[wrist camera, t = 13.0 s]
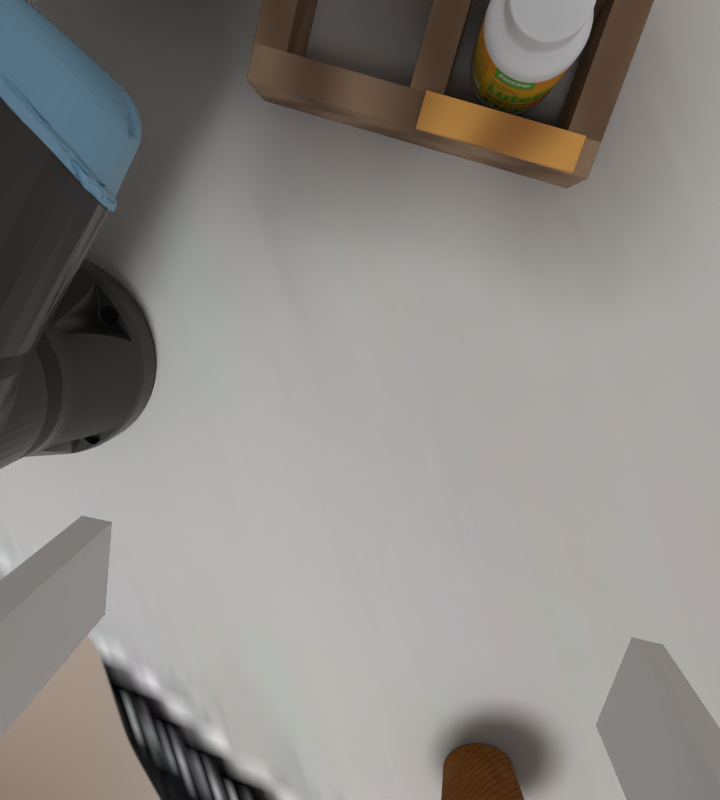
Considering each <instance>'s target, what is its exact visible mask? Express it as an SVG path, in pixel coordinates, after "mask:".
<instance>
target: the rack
mask: <svg viewBox="0 0 720 800" xmlns="http://www.w3.org/2000/svg"><path fill="white" fill-rule="evenodd" d="M472 1H473V0H434V1H433V5H432V8H431V12H430V16H429V19H428V23H427V27H426V30H425V34H424V38H423V41H422V45H421V49H420V52H419V56H418V59H417V63H416V67H415V70H414V74H413V78H412V81H411V85H410V87H406V86H403V85H399V84H396V83H393V82H389V81H386V80H382V79H379V78H375V77H372V76H368V75H365V74H361V73H358V72H354V71H351V70H347V69H344V68H340V67H337V66H333V65H330V64H326V63H323V62H320V61H316V60H313V59H309V58H306V57H305V53H306V49H307V44H308V40H309V35H310V30H311V26H312V21H313V17H314V12H315V8H316V3H317V0H262V4H261V9H260V14H259V19H258V24H257V29H256V34H255V40H254V45H253V50H252V55H251V60H250V65H249V70H248V75H247V81H248V82H249V83H250V84H251V85H252V87H253V88H254V89H255V90H256V91H257V92H258V93H259V95H260V96H261V97H262V98H263V99H264V100H265V101H268V102H272V103H275V104H278V105H282V106H285V107H289V108H292V109H296V110H299V111H303V112H306V113H310V114H313V115H316V116H320V117H323V118H327V119H330V120H334V121H337V122H341V123H344V124H348V125H351V126H354V127H358V128H361V129H365V130H368V131H372V132H375V133H379V134H382V135H386V136H389V137H392V138H396V139H399V140H403V141H406V142H410V143H413V144H417V145H420V146H424V147H427V148H430V149H434V150H437V151H441V152H444V153H448V154H451V155H455V156H458V157H462V158H465V159H468V160H472V161H475V162H479V163H482V164H486V165H489V166H493V167H496V168H500V169H503V170H506V171H510V172H513V173H517V174H520V175H524V176H527V177H531V178H534V179H537V180H541V181H544V182H548V183H551V184H555V185H558V186H562V187H565V188H569V187H571V186H573V185H575V184H577V183H579V182H581V181H583V180H585V179H587V178H588V175H589V173H590V170H591V167H592V165H593V162H594V159H595V156H596V154H597V151H598V148H599V146H600V143H601V140H602V138H603V135H604V132H605V130H606V127H607V124H608V122H609V119H610V116H611V114H612V111H613V108H614V106H615V103H616V100H617V98H618V95H619V92H620V90H621V87H622V84H623V81H624V79H625V76H626V73H627V71H628V68H629V65H630V63H631V60H632V57H633V55H634V52H635V49H636V47H637V44H638V41H639V39H640V36H641V33H642V31H643V28H644V25H645V23H646V20H647V17H648V14H649V12H650V9H651V6H652V4H653V1H654V0H596V3H595V6H594V16H593V19H594V22H593V24H592V28H591V31H590V35H589V38H588V40H587V42H586V44H585V47H584V50H583V53H582V56H581V59H580V62H579V65H578V67H577V70H576V73H575V76H574V79H573V82H572V85H571V87H570V90H569V93H568V96H567V99H566V102H565V105H564V107H563V110H562V113H561V116H560V119H559V122H558V125H557V127H553V126H550V125H547V124H543V123H540V122H536V121H533V120H529V119H526V118H522V117H519V116H515V115H512V114H508V113H505V112H501V111H498V110H494V109H491V108H487V107H484V106H480V105H477V104H474V103H470V102H467V101H463V100H460V99H456V98H453V97H449V96H446V95H445V94H446V90H447V87H448V84H449V80H450V77H451V73H452V70H453V66H454V63H455V60H456V56H457V53H458V49H459V46H460V42H461V39H462V36H463V32H464V29H465V25H466V22H467V18H468V15H469V12H470V8H471V5H472Z"/></svg>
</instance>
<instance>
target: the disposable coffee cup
mask: <svg viewBox="0 0 720 800" xmlns="http://www.w3.org/2000/svg"><path fill="white" fill-rule="evenodd" d="M441 800H524V798H523V795H522V792H521V789H520V787H519V783H518V781H517V777H516V775H515V772H514V769H513V765H512V763H511V761H510V760H509V758H508V757H507V756H506V755H505V754H504V753H503V752H501V751H500V750H498V749H496V748H494V747H491V746H488V745H483V744H470V745H465V746H462V747H460V748H458V749H456V750H454V751H453V752H452V753H451V754H450V755H449V756H448V757H447V759H446V760H445V763H444V767H443V782H442V797H441Z"/></svg>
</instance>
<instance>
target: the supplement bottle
mask: <svg viewBox="0 0 720 800" xmlns="http://www.w3.org/2000/svg"><path fill="white" fill-rule="evenodd" d="M595 3H596V0H491V1H490V3H489V5H488V8H487V11H486V14H485V18H484V21H483V24H482V27H481V31H480V34H479V37H478V40H477V44H476V47H475V50H474V53H473V57H472V62H471V80H472V85H473V88H474V90H475V93H476V95H477V96H478V98H479V99H480V101H481V102H482V103H483V104H484V105H485V106H486V107H488V108H491V109H494V110H498V111H501V112H505V113H508V114H512V115H513V114H519V113H523V112H525V111H528V110H530V109H531V108H533V107H534V106H536V105H537V104H538V103H539V102H541V101H542V100H543V99H544V98H545V96H546V95H547V94H548V93H549V92H550V90H551V89H552V88H553V87H554V86H555V84H556V83H557V82H558V81H559V80H560V78H561V77H562V76H563V75H564V73H565V72H566V71H567V70H568V68H569V67H570V66H571V65H572V64H573V62H574V61H575V60H576V58H577V57H578V56H579V54H580V53H581V51H582V50H583V48H584V46H585V44H586V42H587V40H588V38H589V35H590V31H591V28H592V23H593V16H594V6H595Z"/></svg>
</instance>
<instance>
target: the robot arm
mask: <svg viewBox="0 0 720 800" xmlns="http://www.w3.org/2000/svg"><path fill="white" fill-rule="evenodd" d="M141 137H142V125H141V119H140V115H139V112H138V109H137V107H136V104H135V103H134V101H133V99H132V98H131V96H130V95H129V93H128V92H127V91H126V90H125V89H124V88H123V87H122V86H121V85H120V84H119V83H118V82H117V81H116V80H115V79H114V78H113V77H112V76H111V75H109V74H108V73H107V72H106V71H105V70H104V69H103V68H102V67H101V66H99V65H98V64H97V63H96V62H95V61H94V60H93V59H92V58H90V57H89V56H88V55H87V54H86V53H85V52H84V51H82V50H81V49H80V48H79V47H78V46H77V45H76V44H75V43H73V42H72V41H71V40H70V39H69V38H68V37H67V36H66V35H64V34H63V33H62V32H61V31H60V30H59V29H58V28H56V27H55V26H54V25H53V24H52V23H51V22H50V21H48V20H47V19H46V18H45V17H44V16H43V15H42V14H41V13H39V12H38V11H37V10H36V9H35V8H34V7H33V6H32V5H30V4H29V3H28V2H27V1H26V0H0V469H1V468H3V467H5V466H7V465H9V464H11V463H12V462H14V461H16V460H18V459H20V458H22V457H29V456H43V455H57V454H70V453H76V452H81V451H85V450H88V449H91V448H94V447H96V446H99V445H101V444H103V443H104V442H106V441H108V440H110V439H111V438H113V437H115V436H117V435H118V434H120V433H121V432H123V431H124V430H126V429H127V428H128V427H129V426H130V425H131V424H132V423H133V422H134V421H135V420H136V419H137V418H138V417H139V415H140V414H141V413H142V411H143V409H144V408H145V406H146V404H147V402H148V400H149V397H150V395H151V392H152V388H153V384H154V378H155V351H154V345H153V341H152V337H151V333H150V330H149V328H148V325H147V323H146V320H145V318H144V316H143V314H142V312H141V311H140V309H139V307H138V306H137V304H136V302H135V301H134V300H133V298H132V297H131V296H130V294H129V293H128V292H127V291H126V290H125V289H124V288H123V287H122V286H121V284H119V283H118V282H117V281H116V280H115V279H114V278H113V277H111V276H110V275H109V274H108V273H106V272H105V271H103V270H102V269H100V268H99V267H97V266H95V265H93V264H91V263H89V262H87V261H85V260H84V258H85V256H86V254H87V252H88V250H89V249H90V247H91V245H92V243H93V241H94V239H95V238H96V236H97V234H98V232H99V230H100V228H101V227H102V225H103V223H104V221H105V219H106V217H107V216H108V214H109V212H110V211H111V212H114V211H115V209H116V207H117V203H118V202H117V199H116V196H117V193H118V191H119V189H120V187H121V184H122V182H123V180H124V178H125V176H126V174H127V171H128V169H129V167H130V165H131V163H132V161H133V159H134V156H135V154H136V152H137V150H138V148H139V145H140V142H141ZM111 525H112V522H108V521H104V520H99V519H95V518H90V517H86V516H81V517H80V518H79V519H77V520H76V521H75V522H74V523H72V524H71V525H70V526H69V527H67V528H66V529H65V530H64V531H62V532H61V533H60V534H59V535H57V536H56V537H55V538H54V539H52V540H51V541H50V542H49V543H47V544H46V545H45V546H44V547H42V548H41V549H40V550H38V551H37V552H36V553H35V554H33V555H32V556H31V557H30V558H28V559H27V560H26V561H25V562H23V563H22V564H21V565H20V566H18V567H17V568H16V569H15V570H13V571H12V572H11V573H10V574H8V575H7V576H6V577H4V578H3V579H2V580H1V581H0V738H1V737H2V735H3V734H4V733H5V732H6V731H7V729H8V728H9V727H10V726H11V725H12V724H13V722H14V721H15V720H16V719H17V718H18V716H19V715H20V714H21V713H22V711H24V709H25V708H26V707H27V706H28V705H29V703H30V702H31V701H32V700H33V699H34V697H35V696H36V695H37V694H38V693H39V692H40V690H41V689H42V688H43V687H44V686H45V684H46V683H47V682H48V681H49V680H50V679H51V677H52V676H53V675H54V674H55V672H56V671H57V670H58V669H59V668H60V667H61V666H62V664H63V663H64V662H65V661H66V660H67V658H68V657H69V656H70V655H71V654H72V652H73V651H74V650H75V649H76V648H77V647H78V645H79V644H80V643H81V641H83V639H84V638H85V637H86V636H87V635H88V634H89V632H90V631H91V630H92V629H93V628H94V626H95V625H96V624H97V623H98V622H99V620H100V619H101V618H102V617H103V616H104V615H105V606H106V592H107V579H108V566H109V552H110V539H111ZM596 727H597V729H598V731H599V734H600V736H601V739H602V741H603V743H604V746H605V748H606V751H607V753H608V756H609V758H610V760H611V763H612V765H613V768H614V770H615V772H616V775H617V777H618V780H619V782H620V784H621V787H622V789H623V792H624V794H625V796H626V799H627V800H720V728H719V727H718V725H717V724H716V722H715V721H714V719H713V718H712V716H711V715H710V713H709V712H708V710H707V709H706V707H705V706H704V704H703V703H702V701H701V700H700V699H699V697H698V696H697V694H696V693H695V691H694V690H693V688H692V687H691V685H690V684H689V682H688V681H687V679H686V678H685V676H684V675H683V673H682V672H681V671H680V669H679V668H678V666H677V665H676V663H675V662H674V660H673V659H672V657H671V656H670V654H669V653H668V651H667V650H666V648H665V647H664V645H663V644H658V643H654V642H649V641H645V640H640V639H636V638H631V640H630V643H629V645H628V648H627V650H626V653H625V655H624V658H623V660H622V662H621V665H620V667H619V670H618V672H617V675H616V677H615V680H614V682H613V685H612V687H611V689H610V692H609V694H608V697H607V699H606V702H605V704H604V707H603V709H602V712H601V714H600V716H599V719H598V721H597V724H596Z"/></svg>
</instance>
